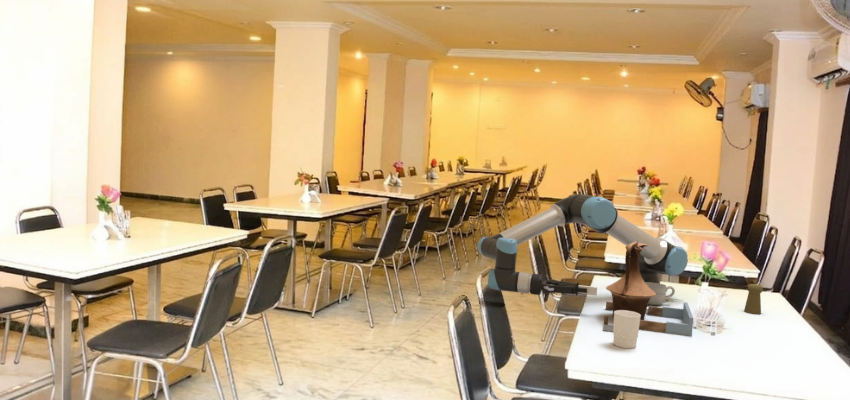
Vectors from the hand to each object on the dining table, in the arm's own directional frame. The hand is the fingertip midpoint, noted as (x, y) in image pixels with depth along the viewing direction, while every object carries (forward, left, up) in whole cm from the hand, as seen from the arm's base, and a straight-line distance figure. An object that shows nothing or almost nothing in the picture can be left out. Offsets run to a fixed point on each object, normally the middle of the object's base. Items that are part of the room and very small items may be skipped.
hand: (596, 291), depth 252 cm
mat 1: (+17, -7, -9) cm, 20 cm away
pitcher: (+9, +8, -9) cm, 15 cm away
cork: (+20, +67, -9) cm, 70 cm away
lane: (+10, +9, -9) cm, 16 cm away
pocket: (+21, +18, -9) cm, 29 cm away
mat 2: (0, +22, -9) cm, 24 cm away
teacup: (-4, +39, -9) cm, 40 cm away
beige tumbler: (+30, -19, -9) cm, 37 cm away
